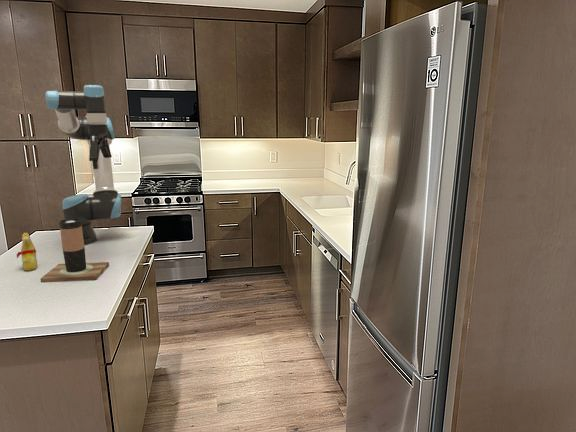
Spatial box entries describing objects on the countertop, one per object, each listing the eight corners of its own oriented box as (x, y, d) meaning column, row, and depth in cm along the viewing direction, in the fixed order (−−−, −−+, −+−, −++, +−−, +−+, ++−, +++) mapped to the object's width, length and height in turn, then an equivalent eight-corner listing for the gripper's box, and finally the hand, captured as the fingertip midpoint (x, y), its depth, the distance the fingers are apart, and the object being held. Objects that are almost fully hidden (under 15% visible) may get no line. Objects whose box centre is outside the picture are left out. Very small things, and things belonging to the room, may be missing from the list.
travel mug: (78, 273, 158) (71, 223, 153) (61, 272, 160) (54, 222, 155) (91, 266, 165) (85, 218, 161) (74, 265, 167) (68, 217, 162)
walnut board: (59, 267, 170) (58, 263, 169) (109, 265, 172) (108, 261, 171) (40, 282, 154) (40, 277, 154) (96, 279, 156) (95, 275, 156)
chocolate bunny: (38, 262, 176) (33, 228, 172) (37, 270, 166) (32, 234, 163) (19, 264, 172) (14, 230, 169) (17, 273, 163) (11, 237, 159)
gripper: (98, 123, 182) (103, 171, 187) (76, 124, 158) (82, 178, 163) (115, 123, 183) (120, 170, 188) (96, 124, 159) (102, 178, 164)
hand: (102, 174), depth 175 cm, fingers open, 13 cm apart
